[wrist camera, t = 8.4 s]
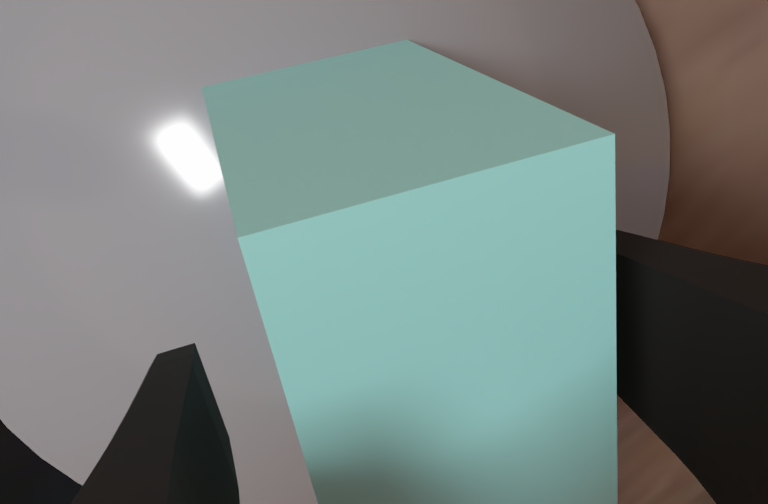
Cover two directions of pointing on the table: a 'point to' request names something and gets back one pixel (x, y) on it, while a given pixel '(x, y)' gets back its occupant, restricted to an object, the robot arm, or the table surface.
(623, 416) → the table surface
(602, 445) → the tall mint rectangular block
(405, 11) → the plate
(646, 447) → the table surface
